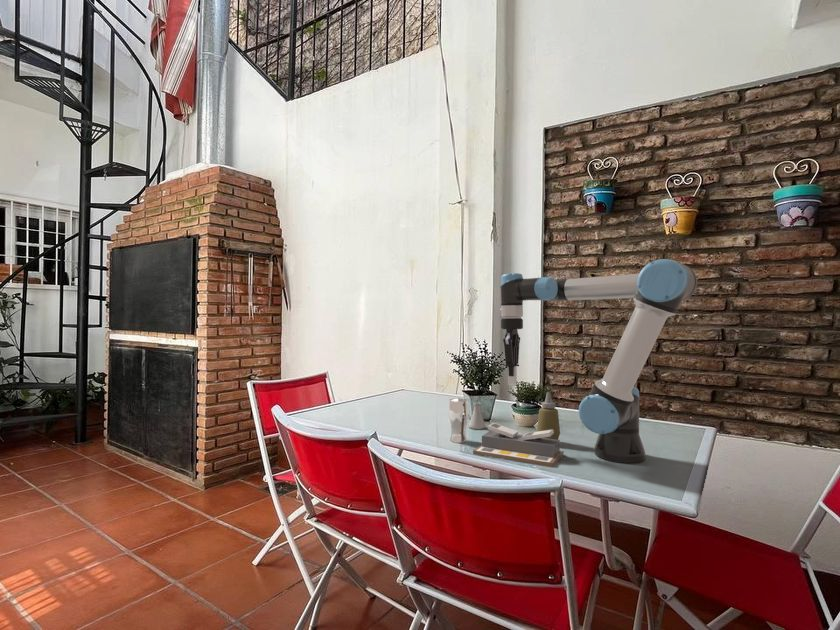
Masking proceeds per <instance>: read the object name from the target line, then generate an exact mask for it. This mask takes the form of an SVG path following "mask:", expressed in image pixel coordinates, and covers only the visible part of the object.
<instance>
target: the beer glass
mask: <svg viewBox="0 0 840 630" xmlns="http://www.w3.org/2000/svg"><path fill="white" fill-rule="evenodd" d="M448 414H449V424H450V428H451V431H450V432H451V433H450V439H449V440H450V442H451V443H455V444H464V443H467V441H468V439H467V438H468V437H467V431H466V430H467V425H468V418H469V403H468V399H467V398H464V397H463V398H461V397H459V398H458V397H456V398H450V399H449V406H448Z"/></svg>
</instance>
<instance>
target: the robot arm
mask: <svg viewBox="0 0 840 630" xmlns="http://www.w3.org/2000/svg"><path fill="white" fill-rule="evenodd" d="M500 277H501V279H500V286H499V287H500V308H499V311H500V316H501V320H500V328H501V330H506V331H505V334H504V338H503V339H502V341H503V346H504V358H505V364H504V367H507V386H514V387H515V386H517V383H518V381H517V380H518V379H517V377H518V376H517V367H520V364H519V359H520V358H519V357H520V356H519V355H520V342H521V337H520V335H519V332H518V330H523V328H524V319H523V317H524V308H523V307H524V305H523V304H524V302H525V301H546V302H547V301H548V302H549V301H551V302H563V301H565V302H566V301H583V300H586V301H587V300H609V299H610V300H612V299H615V300H616V299H633V302H634V304H635V307H634V310H633V313H631V316H630V318H629V321H628V323H627V324H626V326H625V329H624V331H623V333H622V335H621V338H620V340H619V342H618V345H617V347H616V348H615V350H614V353H613V355H612V356H611V357H612V358H611V360H610V362H609V364H608V366H607V368H606V370H605V372H604V374H603V377H602V378H601V379H599V380H598V379H597V380H595V381H594V383H593V386H592V388H591V390H590V391H589V394H588V395H586V396H585V397H584V398H583V399H582V400H581V402H580V404H579V406H578V416H579V419H580V420H581V421H580V422H581V423H582V424H583V426H584V427H585V428H586V429H587V430H589V431H590V432H592V433H595V434H598V436H597V439H596V442H595V444H594V455H595V456H596V457H598V458H599V459H600V458H601V459H603V460H606V461H610V462H617V463H621V464H622V463H625V464H630V463H631V464H633V463H634V464H637V463H641V462H644V461H646V450H645V447H644V444H643V441H642V439H641V436H640V435H641V434H640V400H641V399H640V398H641V397H640V391H639V389H638V387H636V386H635V385H636V383H637V380H638V379H639V377H640V374H641V372H642V370H643V368H644V366H645V364H646V362H647V360H648V358H649V357H650V354H651V352H652V349H653V347H654V346H655V344H656V341H657V339H658V337H659V335H660V333H661V331H662V329H663V327H664V325H665V322H666V321H667V319H668V318H670V317H672V316H675V315H676V314H677V312H678V311H679V309H680V306H681V304H682V302H683V301H685V300H688V299H689V298H690V297H692V295H693V294H694V292H695V291H696V288H697V284H698V277H697V275H696V273H695V271H694V270H693V269H692V268H691V267H690V266H689V265H687V264H684V263H682V262H679V261H676V260H674V259H670V258H669V259H667V258H662V259H661V258H660V259H655V260H653V261H651V262H648V263H647V264H646V265H644V267H642V268H641V270H640V272H639V273H632V274H630V273H629V274H618V275H605V276H603V275H602V276H593V277H590V276H589V277H580V278H579V277H578V278H565V279H562V278H561V279H555V278H554V277H550V276H549V277H547V276H540V277H533V278H531V277H530V278H524V277H523V274H521V273H515V272H514V273H504V274H502V275H501V276H500Z"/></svg>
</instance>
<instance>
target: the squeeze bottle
mask: <svg viewBox="0 0 840 630" xmlns="http://www.w3.org/2000/svg"><path fill="white" fill-rule="evenodd" d="M537 418H538V419H537V428H536V432H538V431H545V430H553V431H554V433H553V434H552V435H551V436H550V437H543V438H549V439H556V440H559V437H560V435H561V427H560V419H559V410H558V409H557V408H556V403H555V402H553V399H552V395H551V392H546V395H545V400H544V401H542V402H541V408H539V410H538V417H537Z"/></svg>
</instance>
